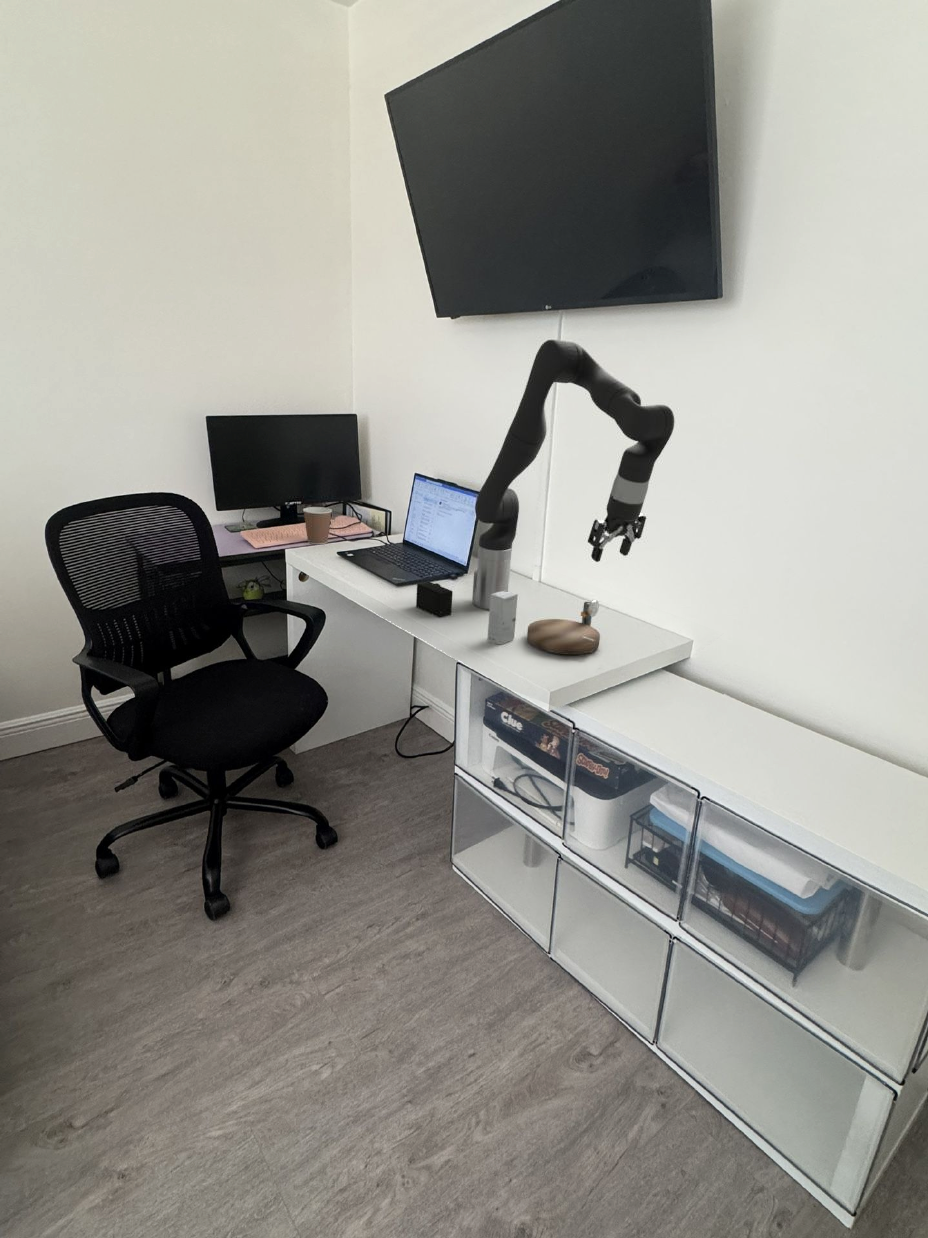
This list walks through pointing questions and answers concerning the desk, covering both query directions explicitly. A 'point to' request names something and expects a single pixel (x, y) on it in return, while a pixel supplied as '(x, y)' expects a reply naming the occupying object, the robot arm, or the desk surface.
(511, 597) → the skincare box
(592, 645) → the turntable
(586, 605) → the post with glass disc
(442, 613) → the digital camera
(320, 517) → the coffee cup
